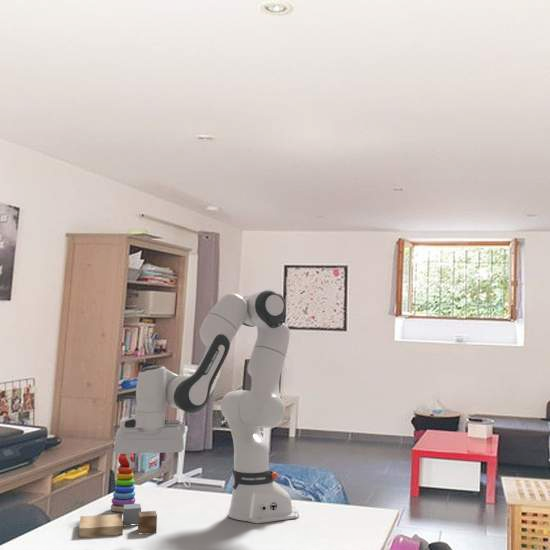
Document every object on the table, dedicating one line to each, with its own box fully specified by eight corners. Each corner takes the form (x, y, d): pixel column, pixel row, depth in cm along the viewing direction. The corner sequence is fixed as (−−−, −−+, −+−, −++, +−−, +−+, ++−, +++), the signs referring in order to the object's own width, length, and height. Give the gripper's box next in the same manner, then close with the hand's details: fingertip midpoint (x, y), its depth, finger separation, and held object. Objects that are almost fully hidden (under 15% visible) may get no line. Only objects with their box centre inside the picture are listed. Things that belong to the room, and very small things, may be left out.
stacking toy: (129, 514, 203) (131, 453, 205) (106, 512, 205) (108, 452, 206) (139, 507, 211) (141, 449, 213) (117, 505, 213) (119, 448, 214)
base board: (121, 522, 194) (121, 513, 194) (122, 534, 183) (122, 525, 183) (80, 525, 191) (80, 516, 191) (78, 537, 180) (79, 528, 180)
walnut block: (155, 528, 189) (155, 510, 190) (156, 533, 185) (156, 515, 185) (137, 529, 188) (138, 511, 189) (138, 534, 183) (139, 516, 184)
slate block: (139, 520, 197) (140, 503, 197) (140, 525, 192) (141, 508, 193) (123, 521, 196) (123, 504, 196) (123, 526, 191) (124, 508, 191)
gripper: (184, 418, 195) (182, 465, 193) (114, 419, 190) (112, 467, 188) (186, 421, 189) (185, 469, 187) (115, 422, 184) (113, 471, 182)
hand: (148, 468), depth 188 cm, fingers open, 8 cm apart
